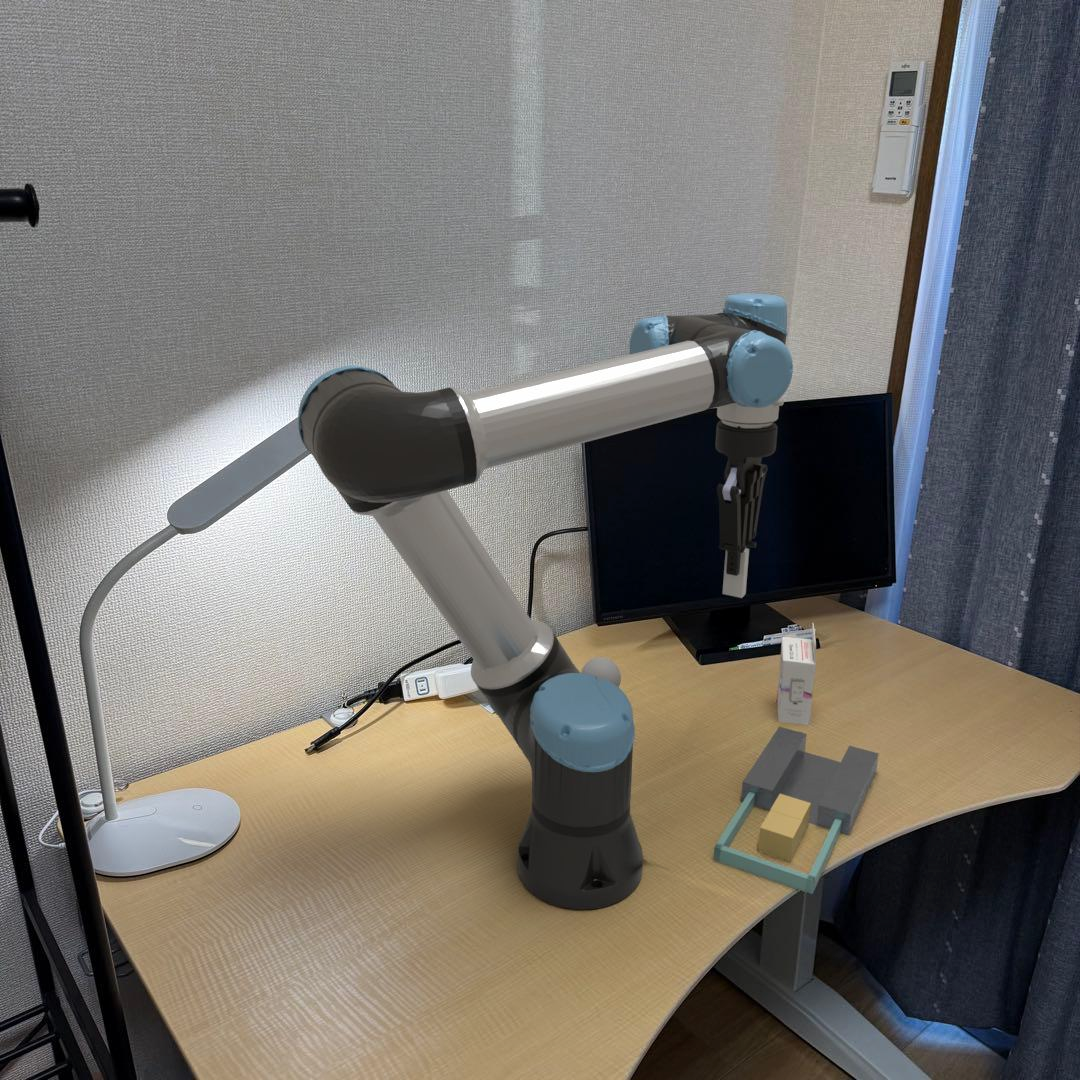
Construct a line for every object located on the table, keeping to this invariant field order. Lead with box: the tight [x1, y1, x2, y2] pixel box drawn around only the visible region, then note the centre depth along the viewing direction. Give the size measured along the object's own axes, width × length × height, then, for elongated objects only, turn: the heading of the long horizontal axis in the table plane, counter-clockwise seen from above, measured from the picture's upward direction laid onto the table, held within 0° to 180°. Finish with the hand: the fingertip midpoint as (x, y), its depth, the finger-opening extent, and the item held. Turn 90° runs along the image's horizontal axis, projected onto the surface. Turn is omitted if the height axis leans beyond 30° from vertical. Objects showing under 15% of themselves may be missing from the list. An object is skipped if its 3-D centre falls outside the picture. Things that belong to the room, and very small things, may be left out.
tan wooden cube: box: [757, 810, 802, 863], centre depth 118 cm, size 4×4×4 cm
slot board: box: [740, 726, 880, 836], centre depth 130 cm, size 16×14×4 cm
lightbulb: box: [580, 656, 622, 688], centre depth 146 cm, size 6×6×11 cm
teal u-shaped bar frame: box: [713, 792, 842, 895], centre depth 118 cm, size 13×12×3 cm
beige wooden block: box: [770, 794, 811, 842], centre depth 121 cm, size 4×4×4 cm
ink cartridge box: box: [776, 622, 817, 726], centre depth 147 cm, size 9×5×15 cm, turn 168°
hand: (734, 593), depth 128 cm, fingers closed
